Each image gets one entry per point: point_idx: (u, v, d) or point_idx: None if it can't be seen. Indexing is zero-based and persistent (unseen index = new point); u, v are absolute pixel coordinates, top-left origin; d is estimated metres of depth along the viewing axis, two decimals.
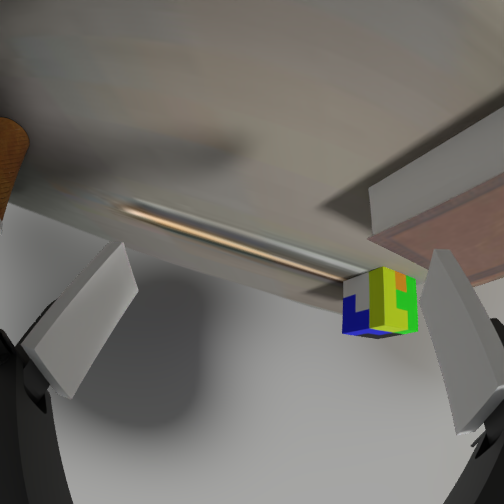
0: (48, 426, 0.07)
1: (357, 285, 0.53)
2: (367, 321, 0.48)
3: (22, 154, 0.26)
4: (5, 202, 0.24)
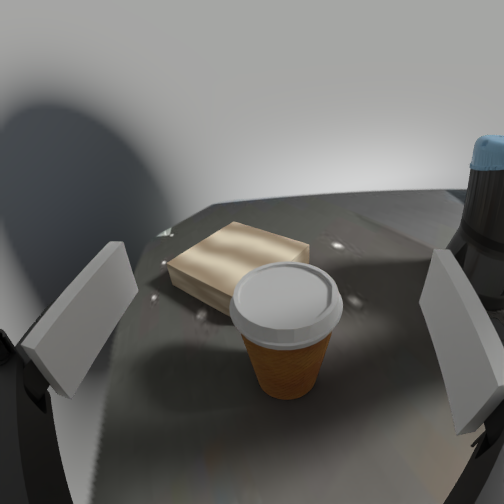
0: (48, 425, 0.07)
1: None
2: None
3: (300, 388, 0.28)
4: (300, 359, 0.24)
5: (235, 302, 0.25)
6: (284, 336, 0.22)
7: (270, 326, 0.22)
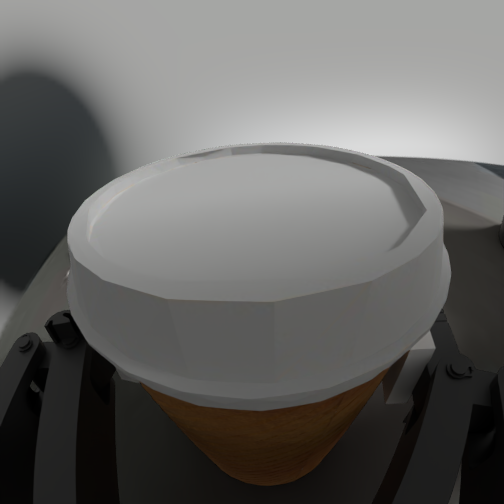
0: (109, 419, 0.08)
1: None
2: None
3: (296, 473, 0.09)
4: (303, 430, 0.06)
5: (79, 211, 0.06)
6: (218, 345, 0.04)
7: (144, 283, 0.04)
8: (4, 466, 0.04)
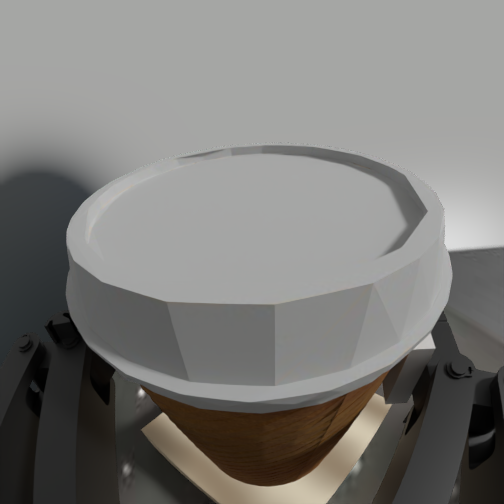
0: (109, 419, 0.08)
1: None
2: None
3: (296, 474, 0.09)
4: (303, 432, 0.06)
5: (78, 212, 0.06)
6: (217, 347, 0.04)
7: (144, 285, 0.04)
8: (4, 466, 0.04)
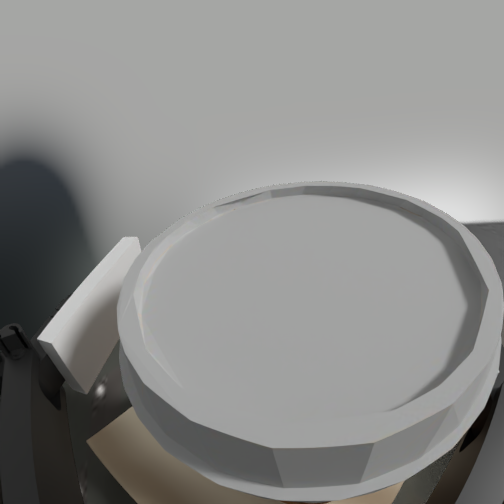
0: (62, 423, 0.07)
1: None
2: None
3: None
4: None
5: (122, 297, 0.06)
6: (316, 470, 0.03)
7: (241, 428, 0.04)
8: None
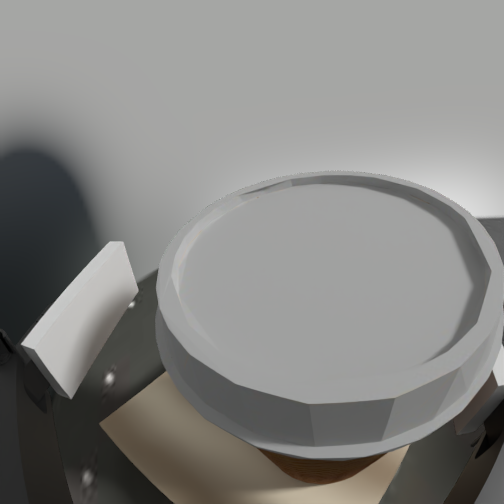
0: (49, 426, 0.07)
1: None
2: None
3: (355, 473, 0.10)
4: None
5: (160, 279, 0.07)
6: (345, 426, 0.04)
7: (282, 388, 0.04)
8: None
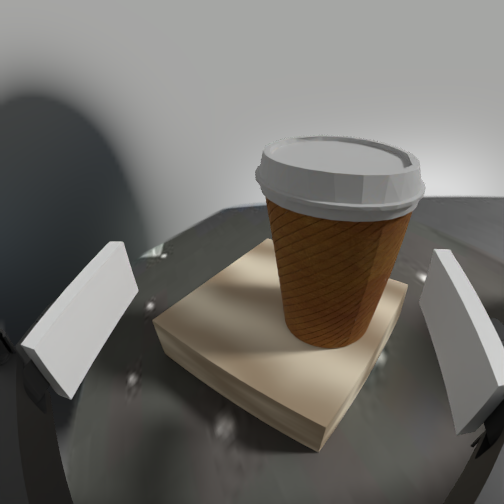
0: (48, 425, 0.07)
1: None
2: None
3: (350, 327, 0.18)
4: (365, 254, 0.14)
5: (266, 153, 0.15)
6: (346, 188, 0.12)
7: (324, 170, 0.13)
8: None
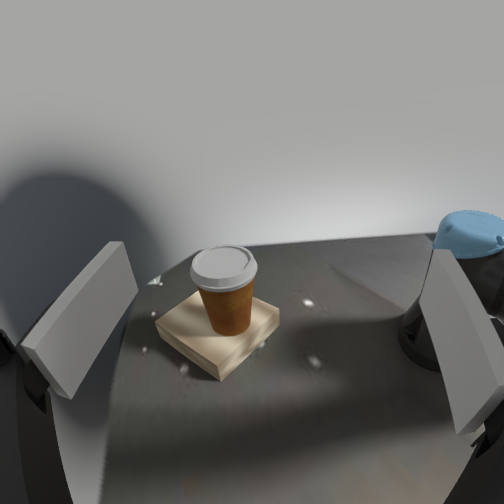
0: (48, 426, 0.07)
1: None
2: None
3: (232, 327, 0.46)
4: (226, 301, 0.42)
5: (192, 263, 0.43)
6: (213, 282, 0.40)
7: (206, 276, 0.40)
8: None
